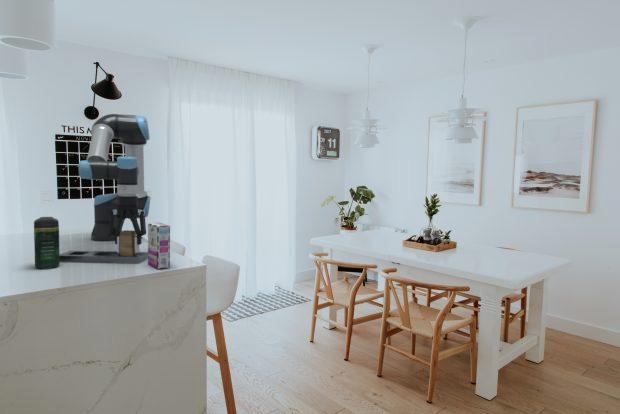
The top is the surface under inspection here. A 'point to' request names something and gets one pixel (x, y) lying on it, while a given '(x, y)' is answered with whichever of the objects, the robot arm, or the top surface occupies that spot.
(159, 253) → the candy bar box
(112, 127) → the robot arm
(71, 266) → the top surface
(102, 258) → the grey metal hole board
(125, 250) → the walnut peg
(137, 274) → the top surface
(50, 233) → the coffee jar
